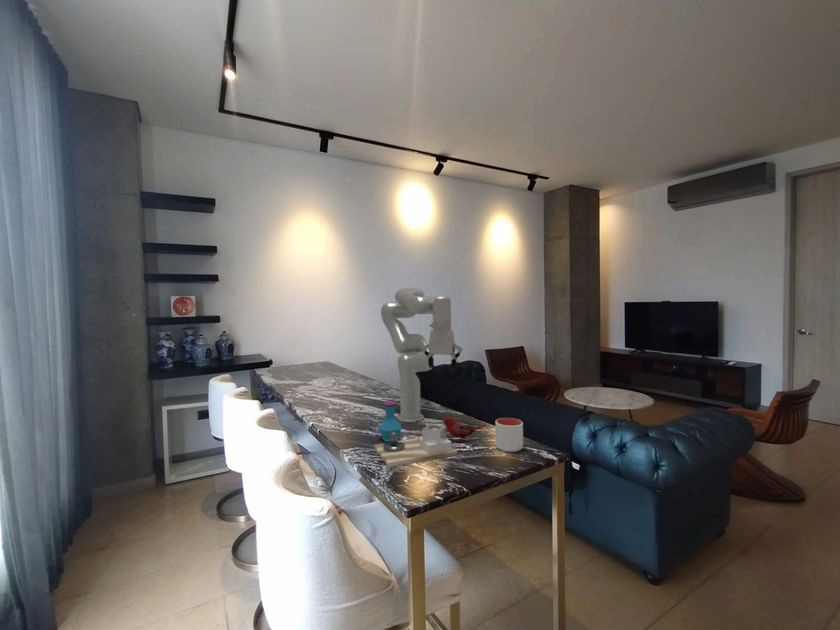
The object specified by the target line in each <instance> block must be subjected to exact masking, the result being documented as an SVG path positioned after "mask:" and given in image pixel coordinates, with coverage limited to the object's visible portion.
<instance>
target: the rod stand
mask: <svg viewBox="0 0 840 630" xmlns="http://www.w3.org/2000/svg"><path fill="white" fill-rule="evenodd" d="M397 441H398V440H397V432H396V431H392V432H390V442H387V441H386V442H384V443H385V444H384V445H383V450H385V451H387V452H399V451H402V450H404V448H405V444H404V443H402V442H397Z"/></svg>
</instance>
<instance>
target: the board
mask: <svg viewBox="0 0 840 630" xmlns="http://www.w3.org/2000/svg"><path fill="white" fill-rule="evenodd" d="M419 438H420V437H417V438H410V439H405V440H404V439H403V440H397V442H402V443H404V444H405V448H404V450H402V451H399V452H387V451H385V450H383V445H384V444H385V443H386V442H384V443H378V444H374V445H373V450H374V451H375V450H376V451H377V452H376V451H375V452H376V454H377V453H378V454H379V455H380V456H379V455H378V454H377V455H378V456H379V457H381V458H382V459H383V460H382V459H381V458H380V459H381V460H382V461H384V462H385V463H384V462H383V463H384V464H385V466H386V465H387V466H386V467H387V468H392V467H398V466H404V465H409V464H414V463H416V464H417V463H421V462H426V461H432V460H435V459H436V460H437V459H442V458H443V459H444V458H449V457H453V456H458V450H456V449H455V448H454V447H453V446H451V450H449V451H444V452H438V453H432V454H428V453H427V452H426V451H425V450H424V449H423V448H421V447H420V446H419Z"/></svg>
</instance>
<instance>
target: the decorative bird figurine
mask: <svg viewBox="0 0 840 630" xmlns="http://www.w3.org/2000/svg"><path fill="white" fill-rule="evenodd" d="M442 424H444V426H447V433H449V434H450V435H451V436H452V437H455V438H458V439H455V442H456V443H459V442H464V441H465V442H466V439H465V438H467V437H469V436H470V435H473V433H474V432H476V431H477V430H479V429H482V428H484V427H486V426H487V424H483V425H478V426H472V425H470V424H467V423H464V422H463V423H462V422H459V421H456V419H455V418H453V417H449V416H447V417H445V419H444V421H443V422H442Z"/></svg>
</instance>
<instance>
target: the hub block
mask: <svg viewBox="0 0 840 630" xmlns="http://www.w3.org/2000/svg"><path fill="white" fill-rule="evenodd" d="M432 429H435V430H438V428H432ZM418 438H419V446H420V447H421V448H423V449H424V450H425V451H426V452H427V453H428V454H432V453H438V452H444V451H449V450H451V447H452V441H451V440H449V439H448V437H447V438H446V439H445V440H444V441H443V442H442V443H441V444H436V443H429V442H422V437H421V436H420V437H418Z"/></svg>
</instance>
